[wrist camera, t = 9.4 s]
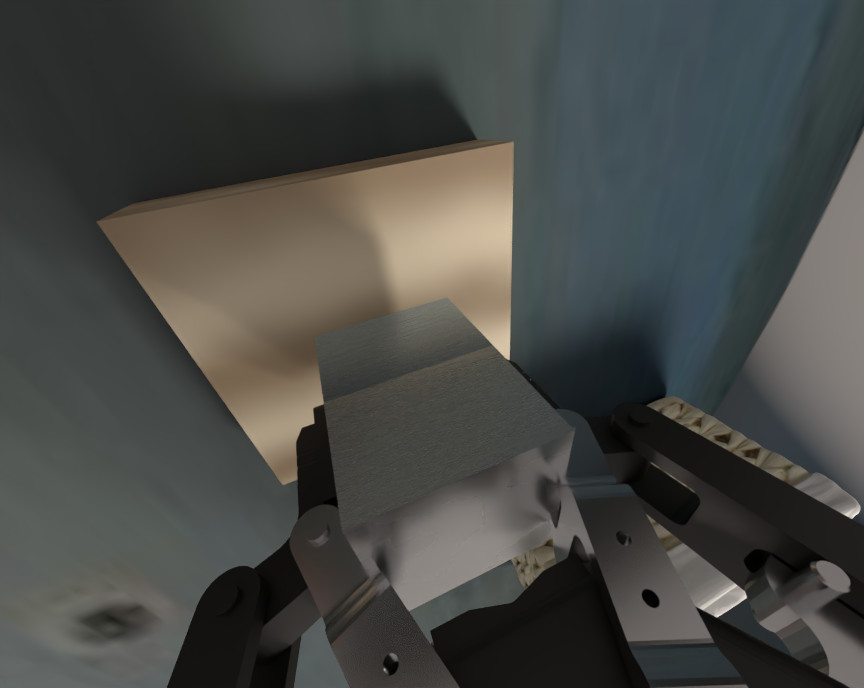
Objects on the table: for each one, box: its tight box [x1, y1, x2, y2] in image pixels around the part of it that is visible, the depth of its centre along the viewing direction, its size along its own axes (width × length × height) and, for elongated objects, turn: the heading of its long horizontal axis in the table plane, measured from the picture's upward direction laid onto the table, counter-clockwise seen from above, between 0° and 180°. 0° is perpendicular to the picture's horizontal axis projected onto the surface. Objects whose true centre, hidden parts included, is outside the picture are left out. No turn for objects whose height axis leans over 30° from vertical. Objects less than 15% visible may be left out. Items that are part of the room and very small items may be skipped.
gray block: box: [314, 297, 575, 611], centre depth 11 cm, size 5×6×7 cm
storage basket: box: [511, 396, 860, 617], centre depth 31 cm, size 24×16×15 cm
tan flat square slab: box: [96, 140, 514, 485], centre depth 16 cm, size 14×14×3 cm
